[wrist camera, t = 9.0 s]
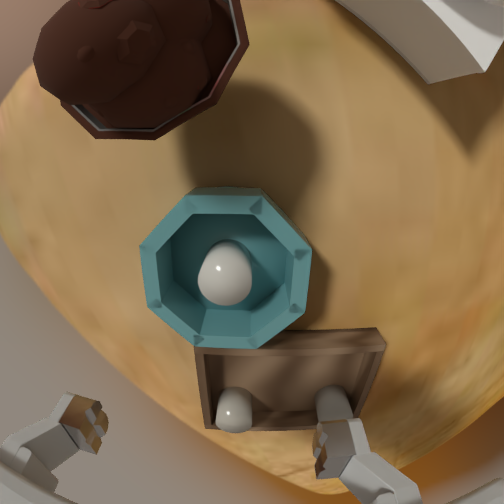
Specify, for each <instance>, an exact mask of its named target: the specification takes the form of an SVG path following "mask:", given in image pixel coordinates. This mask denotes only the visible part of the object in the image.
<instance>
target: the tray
mask: <svg viewBox="0 0 504 504" xmlns="http://www.w3.org/2000/svg"><path fill="white" fill-rule="evenodd" d="M385 346H386V343H385V342H384V340H383V338H382V336H381V335H380V333H379V331H378V330H377V328H376V327H374V328H357V329H333V330H282V331H280V332H279V333H278V334H276V335H275V336H274V337H272V338H271V339H270V340H268V341H267V342H265V343H264V344H263V345H261V346H260V347H259V348H257V349H236V348H213V347H196V346H194V353H195V361H196V369H197V377H198V385H199V392H200V399H201V406H202V412H203V419H204V425H205V429H218V430H221V429H220V428H218V427H217V425H216V415H217V407H218V398H219V393H220V392H221V391H222V390H223V389H225V388H227V387H233V386H235V387H242V388H244V389H246V390H248V391H249V392H250V393H251V395H252V426H251V428H250V429H249V430H247V431H286V430H306V429H317V425H318V423H319V421H318V416H317V411H316V406H315V401H314V395H315V394H316V392H317V391H318V390H320V389H321V388H323V387H325V386H328V385H340V386H342V387H343V388H344V389H345V392H346V395H347V398H348V401H349V404H350V407H351V410H352V413H353V418H358V416H359V414H360V412H361V409H362V407H363V405H364V402H365V400H366V398H367V395H368V393H369V390H370V388H371V385H372V383H373V380H374V377H375V375H376V372H377V369H378V367H379V364H380V361H381V358H382V355H383V352H384V349H385Z"/></svg>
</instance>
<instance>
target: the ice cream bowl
mask: <svg viewBox="0 0 504 504" xmlns="http://www.w3.org/2000/svg"><path fill="white" fill-rule="evenodd" d="M248 46H249V40H248V35H247V31H246V26H245V22H244V17H243V13H242V8H241V4H240V0H70V1H68V2H67V3H66V4H65V5H63V6H62V8H60V10H58V11H57V12H56V14H54V16H53V17H52V18H51V19H50V20H49V21H48V22H47V23H46V24H45V25H44V26H43V27H42V29H41V32H40V36H39V39H38V42H37V45H36V49H35V52H34V56H33V62H34V65H35V69H36V73H37V76H38V80H39V83H40V86H41V87H43V88H44V89H45V90H47V91H48V92H50V93H51V94H53V95H54V96H56V97H57V98H58V99H60V102H61V106H62V107H63V108H64V109H65V110H66V111H67V112H68V113H69V114H70V115H71V116H72V117H73V118H74V119H75V120H76V121H77V122H79V123H80V124H81V125H82V126H83V127H84V128H85V129H86V130H87V131H88V132H89V133H90V134H91V135H92V136H93V137H94V138H95V139H138V140H156V139H158V138H160V137H161V136H163V135H165V134H166V133H168V132H169V131H171V130H173V129H174V128H176V127H177V126H179V125H181V124H182V123H184V122H186V121H187V120H189V119H191V118H193V117H194V116H196V115H198V114H200V113H201V112H203V111H205V110H207V109H208V108H210V107H212V106H214V105H216V104H217V102H218V100H219V98H220V96H221V94H222V93H223V91H224V89H225V87H226V85H227V83H228V81H229V80H230V78H231V76H232V74H233V72H234V71H235V69H236V67H237V65H238V64H239V62H240V60H241V58H242V57H243V55H244V53H245V52H246V50H247V48H248Z"/></svg>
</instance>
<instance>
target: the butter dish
mask: <svg viewBox="0 0 504 504" xmlns="http://www.w3.org/2000/svg"><path fill="white" fill-rule="evenodd" d="M335 1H336V2H338V3H339V4H341V5H342V6H343V7H345V8H346V9H347V10H349V11H350V12H351V13H353V14H354V15H355V16H356V17H358V18H359V19H360V20H362V21H363V22H364V23H365V24H366V25H368V26H369V27H370V28H371V29H372V30H374V31H375V32H376V33H377V34H378V35H379V36H380V37H382V38H383V39H384V40H385V41H386V42H387V43H388V44H389V45H390V46H391V47H392V48H393V49H394V50H396V51H397V52H398V53H399V54H400V55H401V56H402V57H403V58H404V59H405V60H406V61H407V62H408V63H409V64H410V65H411V67H412V68H413V69H414V70H415V71H416V72H417V73H418V74H419V75H420V76H421V77H422V78H423V80H424V81H425V82H426V83H427V84H432V83H436V82H440V81H444V80H448V79H452V78H456V77H460V76H465V75H469V74H474V73H484V72H486V70H487V68H488V67H489V65H490V63H491V62H492V60H493V58H494V56H495V55H496V53H497V51H498V49H499V48H500V46H501V44H502V42H503V40H504V0H335Z"/></svg>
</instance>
